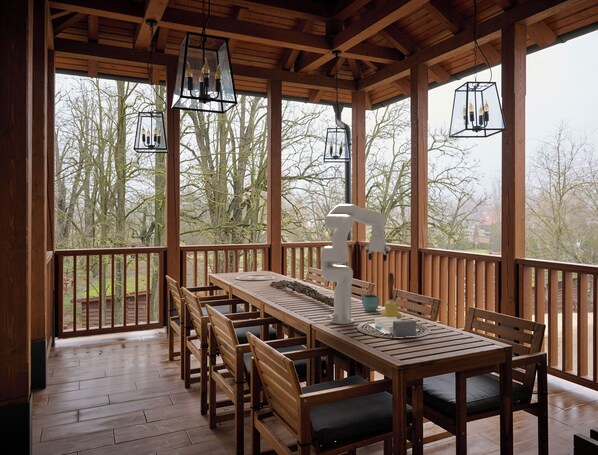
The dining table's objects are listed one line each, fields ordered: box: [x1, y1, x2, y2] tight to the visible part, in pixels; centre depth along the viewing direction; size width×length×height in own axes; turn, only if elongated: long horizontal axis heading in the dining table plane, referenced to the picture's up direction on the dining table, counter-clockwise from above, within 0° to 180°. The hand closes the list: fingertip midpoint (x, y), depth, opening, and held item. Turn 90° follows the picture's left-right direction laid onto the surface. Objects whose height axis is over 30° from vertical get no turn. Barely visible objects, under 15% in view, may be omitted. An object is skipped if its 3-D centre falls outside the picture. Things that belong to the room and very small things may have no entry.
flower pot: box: [361, 294, 381, 312], centre depth 291 cm, size 9×9×9 cm
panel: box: [392, 319, 417, 337], centre depth 231 cm, size 11×3×8 cm, turn 106°
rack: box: [367, 317, 420, 334], centre depth 247 cm, size 20×20×4 cm
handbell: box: [380, 272, 402, 318], centre depth 279 cm, size 12×12×25 cm
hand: (377, 260), depth 296 cm, fingers open, 9 cm apart
